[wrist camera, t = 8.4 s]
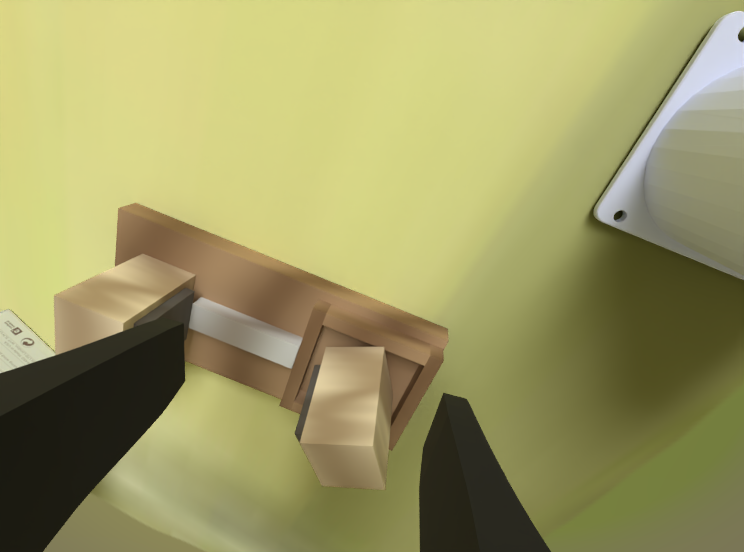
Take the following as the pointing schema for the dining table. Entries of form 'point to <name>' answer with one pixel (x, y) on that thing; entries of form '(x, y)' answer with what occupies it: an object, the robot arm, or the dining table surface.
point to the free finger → (348, 418)
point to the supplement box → (19, 343)
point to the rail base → (244, 313)
